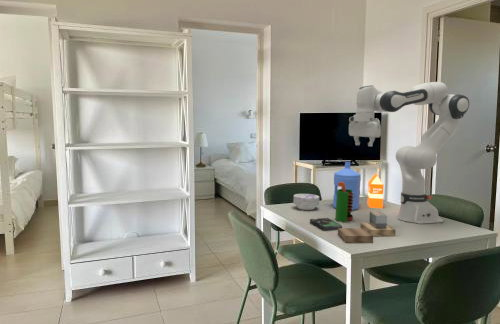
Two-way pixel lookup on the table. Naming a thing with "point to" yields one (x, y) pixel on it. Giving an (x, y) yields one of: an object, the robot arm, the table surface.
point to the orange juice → (375, 192)
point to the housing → (378, 220)
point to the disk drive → (325, 224)
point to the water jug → (348, 184)
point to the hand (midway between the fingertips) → (363, 145)
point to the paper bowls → (306, 201)
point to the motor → (344, 204)
